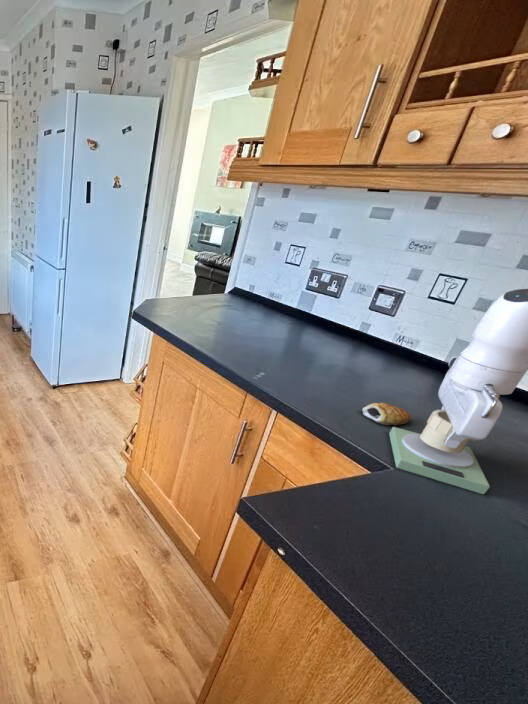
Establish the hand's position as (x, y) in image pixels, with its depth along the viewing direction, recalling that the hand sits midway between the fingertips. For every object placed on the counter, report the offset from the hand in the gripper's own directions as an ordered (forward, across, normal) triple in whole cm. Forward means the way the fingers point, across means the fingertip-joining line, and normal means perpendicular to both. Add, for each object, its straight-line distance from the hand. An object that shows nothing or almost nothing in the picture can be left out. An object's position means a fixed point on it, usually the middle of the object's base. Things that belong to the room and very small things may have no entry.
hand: (444, 435), depth 84 cm
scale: (+6, -1, 0) cm, 6 cm away
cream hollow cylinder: (+2, 0, 0) cm, 2 cm away
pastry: (+6, +14, +7) cm, 17 cm away
